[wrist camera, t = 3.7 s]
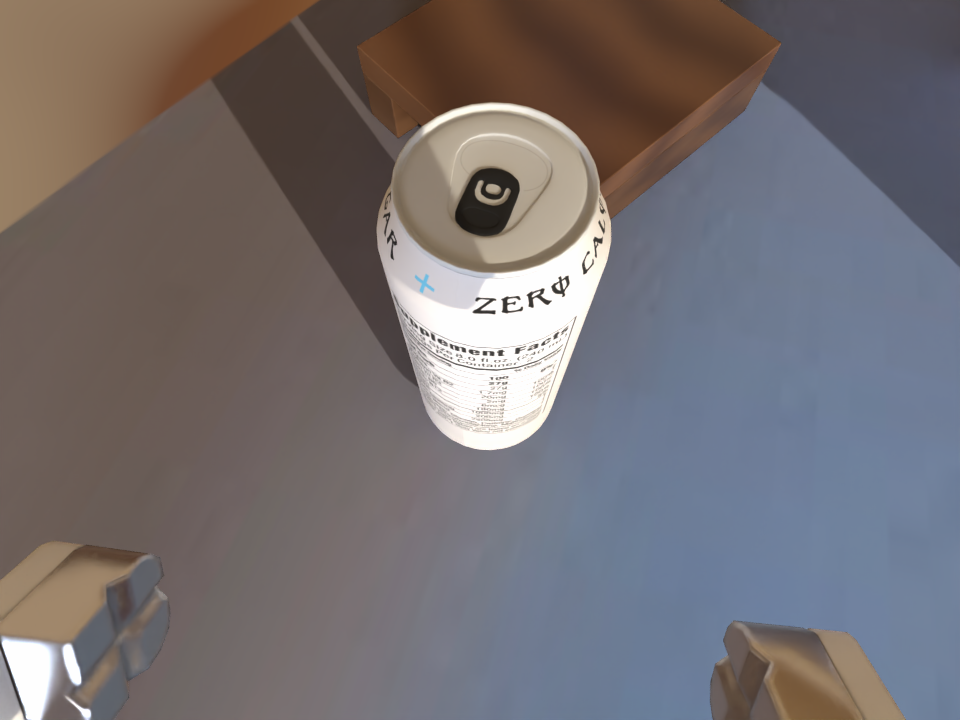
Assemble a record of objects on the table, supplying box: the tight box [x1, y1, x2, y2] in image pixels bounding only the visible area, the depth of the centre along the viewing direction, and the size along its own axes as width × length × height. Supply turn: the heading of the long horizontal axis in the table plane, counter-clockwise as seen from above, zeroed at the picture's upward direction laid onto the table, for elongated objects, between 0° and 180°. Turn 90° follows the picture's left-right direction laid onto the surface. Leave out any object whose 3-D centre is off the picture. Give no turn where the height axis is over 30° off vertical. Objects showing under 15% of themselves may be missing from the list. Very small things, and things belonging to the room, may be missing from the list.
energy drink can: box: [376, 102, 611, 450], centre depth 21 cm, size 6×6×15 cm
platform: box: [357, 0, 781, 219], centre depth 32 cm, size 16×14×4 cm
